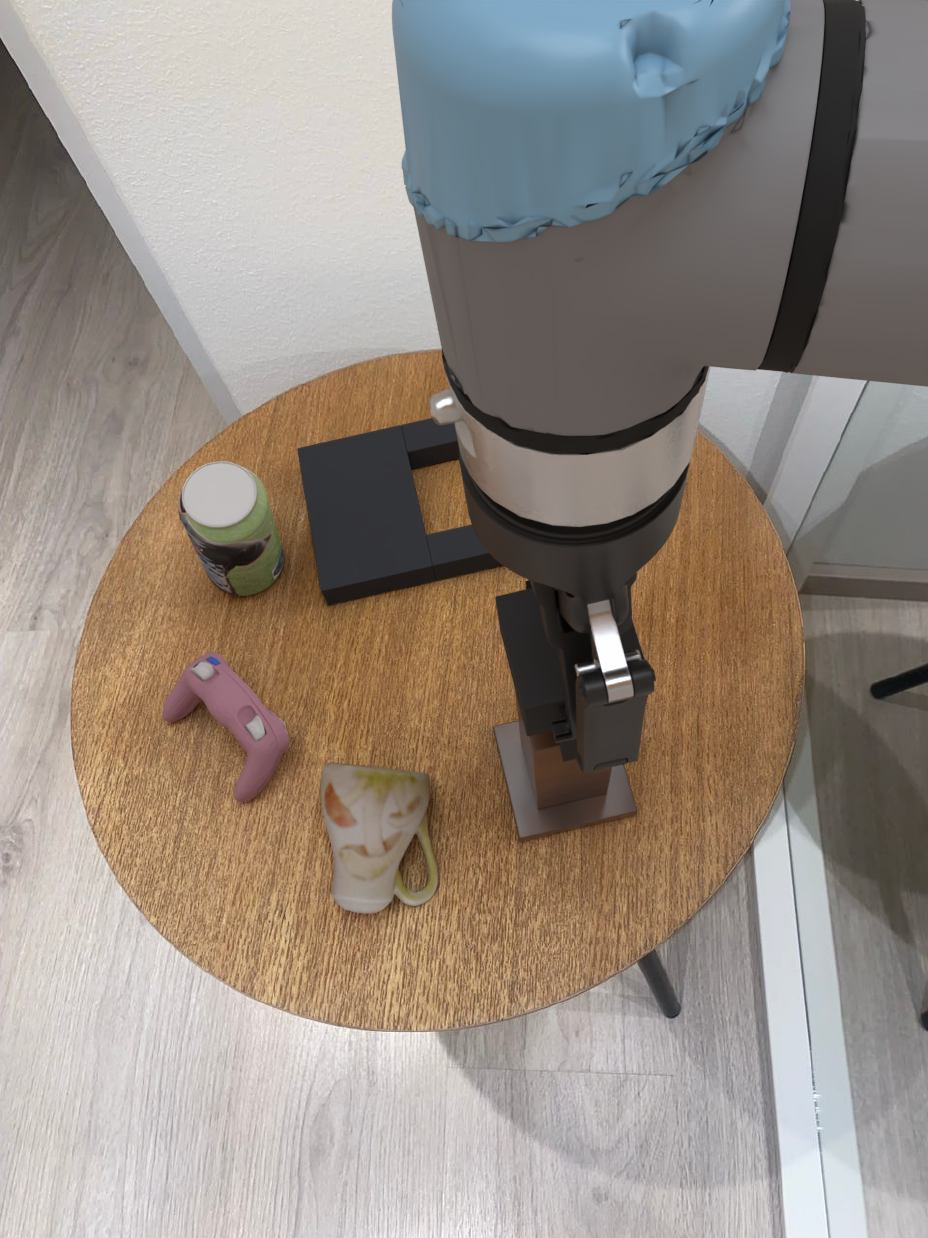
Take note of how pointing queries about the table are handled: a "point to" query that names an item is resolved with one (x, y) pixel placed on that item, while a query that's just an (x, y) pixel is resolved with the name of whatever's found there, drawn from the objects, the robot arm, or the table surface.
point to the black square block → (537, 659)
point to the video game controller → (232, 718)
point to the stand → (556, 785)
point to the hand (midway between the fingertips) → (570, 690)
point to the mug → (375, 833)
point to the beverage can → (231, 527)
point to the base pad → (381, 513)
